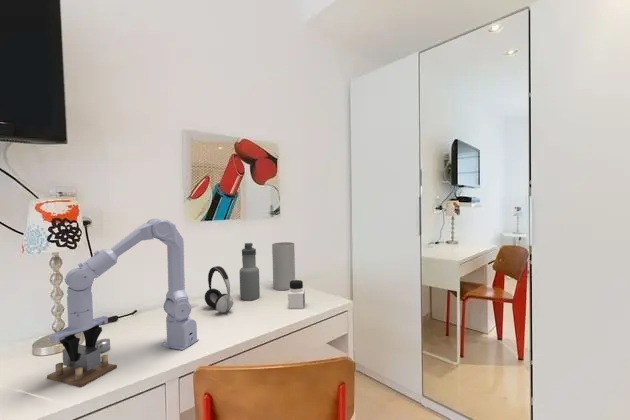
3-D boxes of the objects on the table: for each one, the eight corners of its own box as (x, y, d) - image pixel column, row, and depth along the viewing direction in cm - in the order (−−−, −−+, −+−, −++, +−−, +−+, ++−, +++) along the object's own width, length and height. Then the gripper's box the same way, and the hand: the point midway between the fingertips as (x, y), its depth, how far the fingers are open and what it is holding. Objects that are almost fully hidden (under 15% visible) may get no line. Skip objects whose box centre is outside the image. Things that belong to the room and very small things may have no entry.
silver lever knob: (113, 348, 103) (113, 337, 103) (84, 362, 95) (83, 350, 95) (104, 346, 105) (103, 336, 105) (74, 360, 96) (74, 348, 96)
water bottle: (239, 296, 161) (238, 242, 160) (258, 293, 164) (257, 241, 163) (240, 301, 151) (239, 245, 150) (260, 299, 154) (259, 243, 153)
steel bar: (100, 363, 89) (100, 348, 89) (87, 370, 85) (86, 354, 85) (77, 358, 92) (76, 343, 92) (63, 365, 88) (62, 349, 88)
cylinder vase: (297, 284, 180) (296, 242, 180) (292, 290, 168) (291, 245, 167) (276, 284, 182) (275, 242, 181) (270, 290, 170) (269, 245, 169)
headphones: (238, 313, 136) (236, 268, 135) (220, 318, 130) (219, 271, 129) (217, 303, 150) (216, 262, 149) (200, 307, 144) (199, 265, 143)
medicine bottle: (303, 308, 140) (303, 282, 139) (288, 308, 140) (287, 282, 140) (304, 303, 147) (304, 278, 147) (289, 303, 147) (289, 278, 147)
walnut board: (116, 369, 91) (116, 355, 91) (81, 388, 82) (81, 373, 82) (84, 361, 96) (83, 348, 96) (47, 379, 86) (46, 364, 86)
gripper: (95, 301, 96) (97, 343, 97) (41, 317, 83) (43, 367, 83) (112, 303, 94) (113, 347, 94) (59, 320, 80) (61, 371, 81)
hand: (82, 357), depth 89 cm, fingers closed on steel bar, 4 cm apart
